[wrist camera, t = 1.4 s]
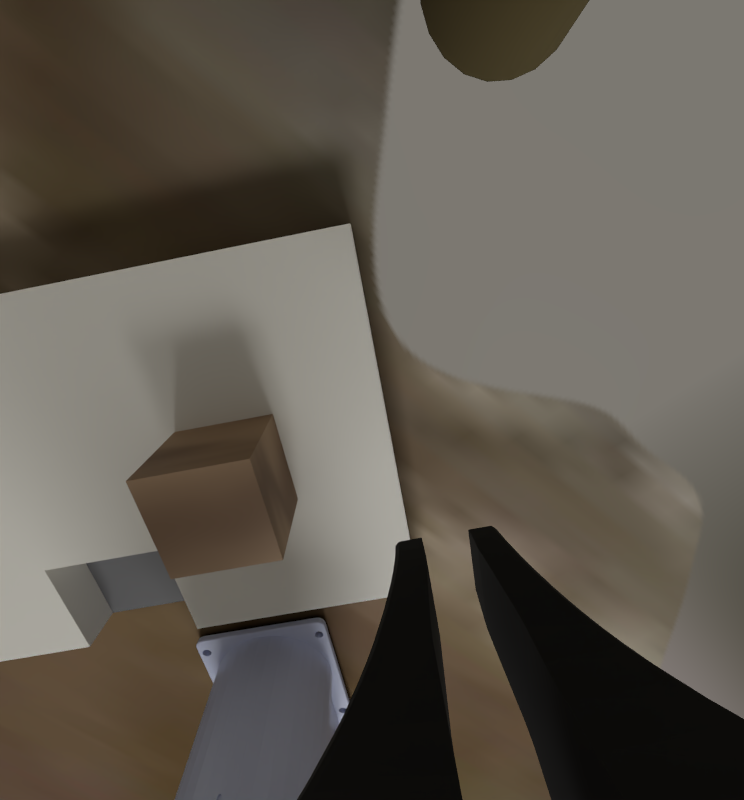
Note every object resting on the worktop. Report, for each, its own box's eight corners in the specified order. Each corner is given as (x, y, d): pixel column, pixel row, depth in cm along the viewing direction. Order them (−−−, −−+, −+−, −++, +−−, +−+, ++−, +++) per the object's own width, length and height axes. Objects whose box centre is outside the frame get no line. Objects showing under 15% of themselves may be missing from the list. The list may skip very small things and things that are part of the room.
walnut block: (297, 498, 19) (283, 559, 16) (207, 515, 19) (170, 579, 16) (272, 413, 18) (249, 458, 14) (174, 432, 18) (125, 481, 14)
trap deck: (413, 557, 24) (425, 624, 20) (-74, 640, 25) (-163, 720, 21) (351, 226, 18) (348, 220, 13) (-298, 356, 19) (-489, 389, 14)
